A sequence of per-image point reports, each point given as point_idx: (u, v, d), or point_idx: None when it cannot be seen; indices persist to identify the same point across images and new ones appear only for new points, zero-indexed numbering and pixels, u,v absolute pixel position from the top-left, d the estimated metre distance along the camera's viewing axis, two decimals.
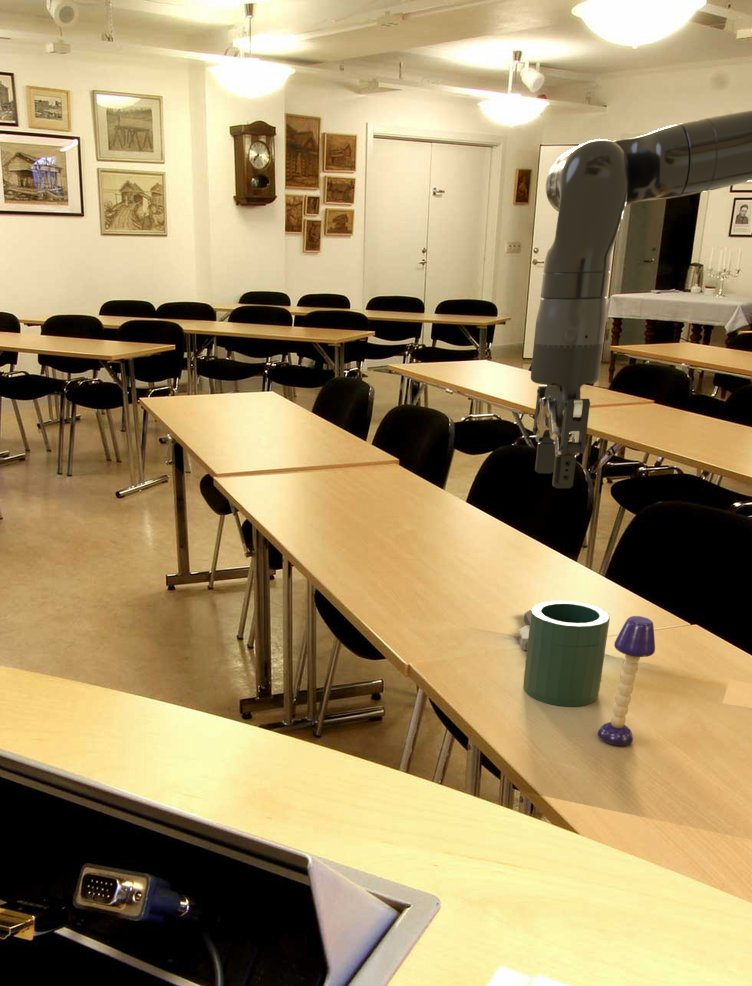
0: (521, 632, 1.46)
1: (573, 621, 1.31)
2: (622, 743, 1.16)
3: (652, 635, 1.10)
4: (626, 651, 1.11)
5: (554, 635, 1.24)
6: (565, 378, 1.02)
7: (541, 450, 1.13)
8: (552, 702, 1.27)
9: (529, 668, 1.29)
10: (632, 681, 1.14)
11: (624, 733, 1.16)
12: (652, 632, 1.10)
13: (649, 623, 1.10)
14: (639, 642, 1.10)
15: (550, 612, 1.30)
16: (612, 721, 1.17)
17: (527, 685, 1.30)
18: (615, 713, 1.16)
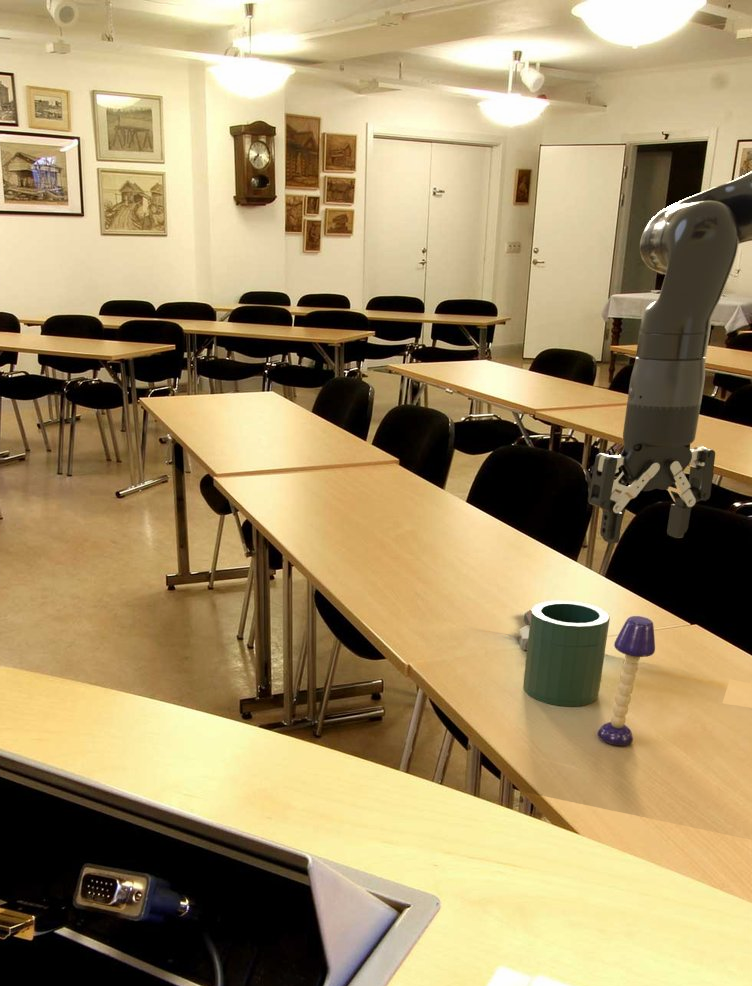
0: (521, 632, 1.46)
1: (573, 621, 1.31)
2: (622, 743, 1.16)
3: (652, 635, 1.10)
4: (626, 651, 1.11)
5: (554, 635, 1.24)
6: (625, 435, 1.03)
7: (672, 511, 1.08)
8: (552, 702, 1.27)
9: (529, 668, 1.29)
10: (632, 681, 1.14)
11: (624, 733, 1.16)
12: (652, 632, 1.10)
13: (649, 623, 1.10)
14: (639, 642, 1.10)
15: (550, 612, 1.30)
16: (612, 721, 1.17)
17: (527, 685, 1.30)
18: (615, 713, 1.16)
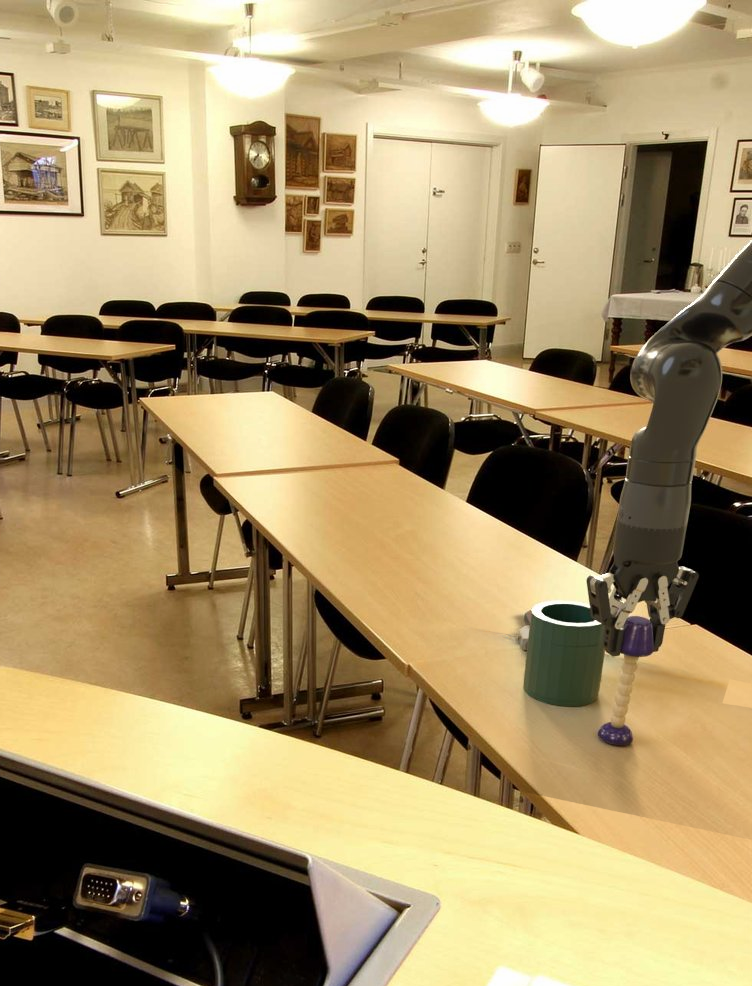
0: (521, 632, 1.46)
1: (573, 621, 1.31)
2: (622, 743, 1.16)
3: (651, 635, 1.10)
4: (625, 651, 1.11)
5: (554, 635, 1.24)
6: (615, 550, 1.08)
7: None
8: (552, 702, 1.27)
9: (529, 668, 1.29)
10: (631, 681, 1.14)
11: (624, 733, 1.16)
12: (651, 632, 1.10)
13: (647, 623, 1.10)
14: (638, 643, 1.10)
15: (550, 612, 1.30)
16: (612, 721, 1.17)
17: (527, 685, 1.30)
18: (615, 713, 1.16)
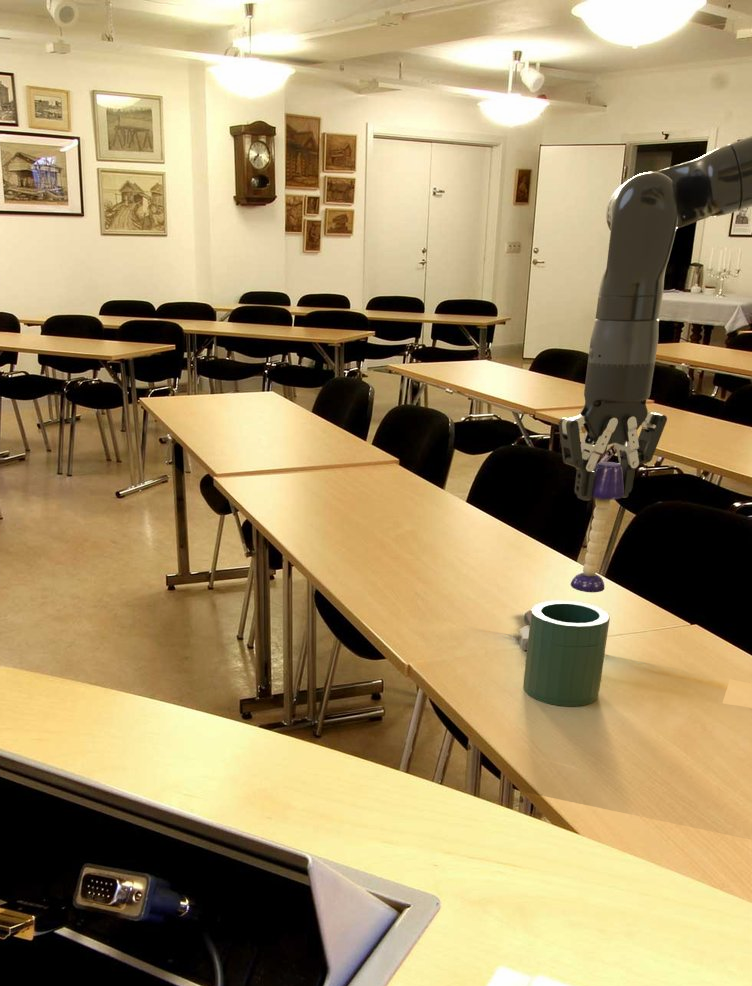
0: (521, 632, 1.46)
1: (573, 621, 1.31)
2: (594, 590, 1.19)
3: (621, 478, 1.14)
4: (596, 494, 1.14)
5: (554, 635, 1.24)
6: (586, 392, 1.11)
7: None
8: (552, 702, 1.27)
9: (529, 668, 1.29)
10: (602, 527, 1.17)
11: (595, 580, 1.19)
12: (621, 475, 1.13)
13: (618, 466, 1.13)
14: (608, 485, 1.13)
15: (550, 612, 1.30)
16: (584, 570, 1.20)
17: (527, 685, 1.30)
18: (587, 561, 1.19)
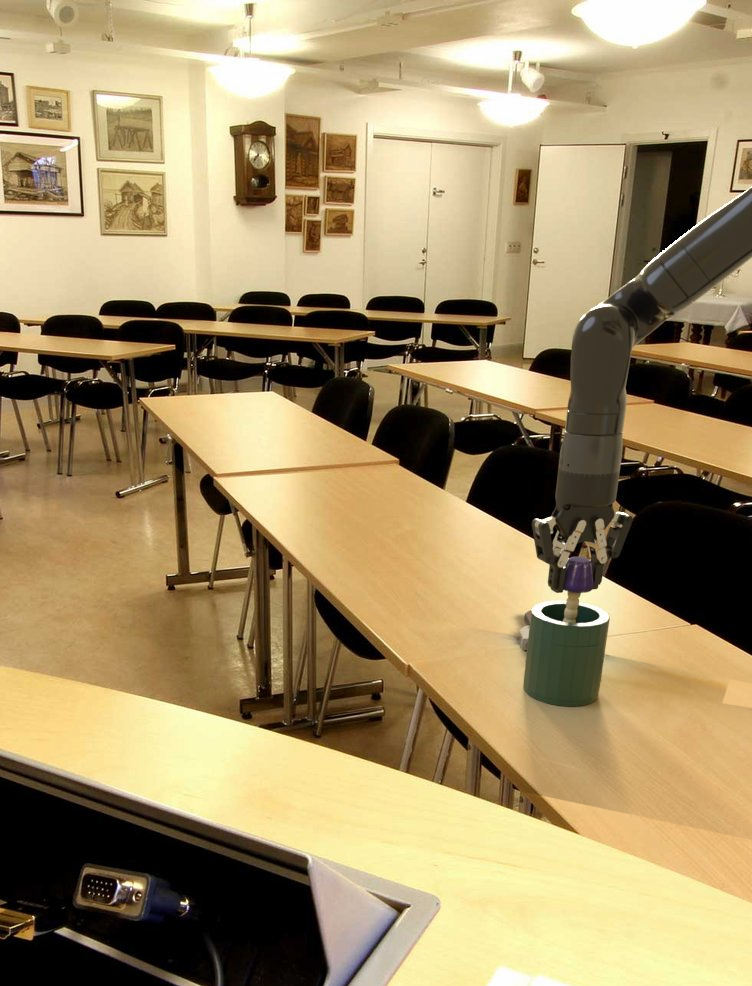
0: (521, 632, 1.46)
1: None
2: None
3: (590, 573, 1.23)
4: (567, 588, 1.23)
5: (554, 635, 1.24)
6: (557, 496, 1.20)
7: None
8: (552, 702, 1.27)
9: (529, 668, 1.29)
10: (574, 616, 1.26)
11: None
12: (590, 570, 1.23)
13: (587, 562, 1.22)
14: (578, 580, 1.22)
15: (550, 612, 1.30)
16: None
17: (527, 685, 1.30)
18: None
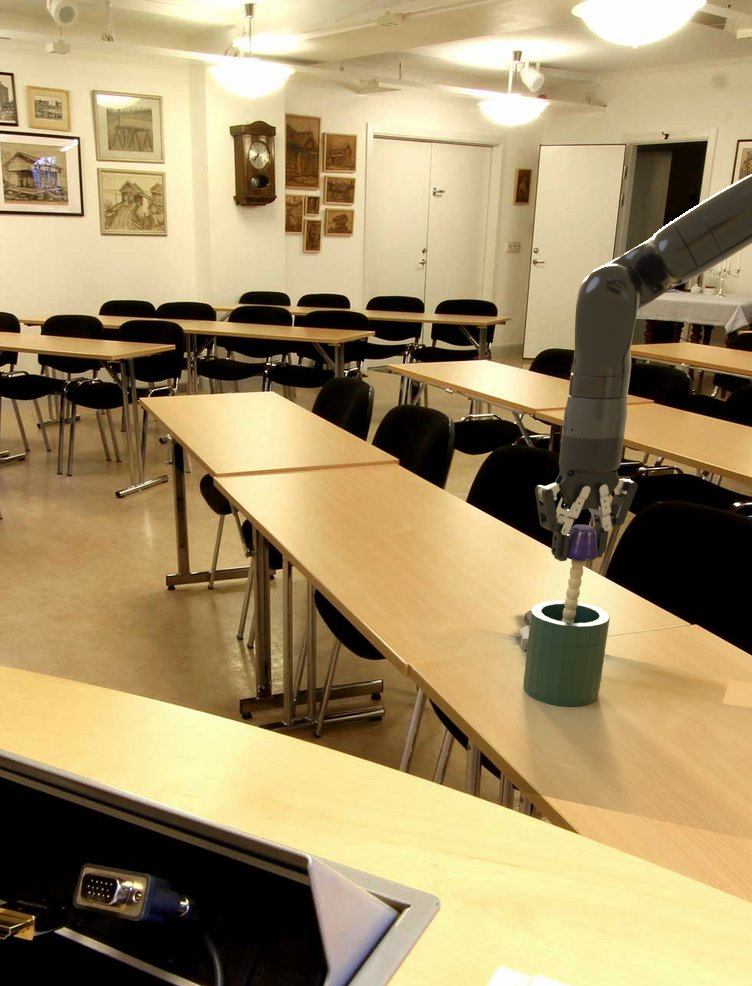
0: (522, 632, 1.46)
1: None
2: None
3: (594, 540, 1.21)
4: (571, 556, 1.22)
5: (554, 635, 1.24)
6: (560, 462, 1.19)
7: None
8: (552, 702, 1.27)
9: (529, 668, 1.29)
10: (578, 585, 1.24)
11: None
12: (594, 538, 1.21)
13: (591, 529, 1.21)
14: (582, 547, 1.21)
15: (550, 612, 1.30)
16: None
17: (527, 685, 1.30)
18: (564, 616, 1.27)
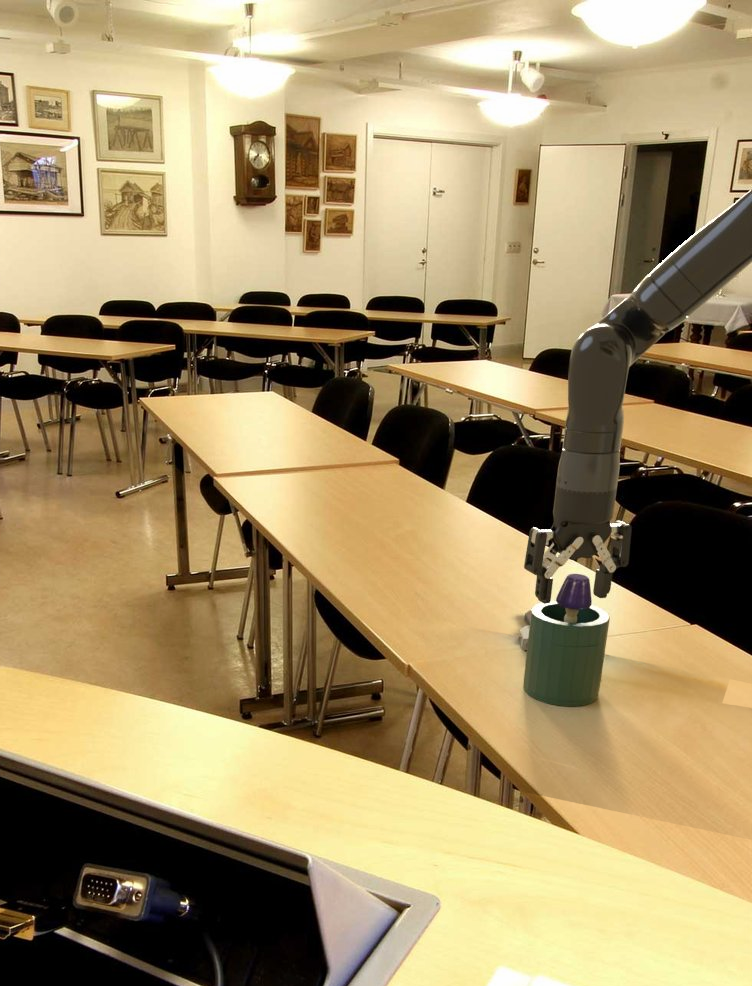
0: (522, 632, 1.46)
1: None
2: None
3: (588, 590, 1.24)
4: (565, 605, 1.24)
5: (554, 635, 1.24)
6: (554, 512, 1.21)
7: (597, 575, 1.26)
8: (552, 702, 1.27)
9: (529, 668, 1.29)
10: None
11: None
12: (588, 587, 1.23)
13: (585, 579, 1.23)
14: (576, 597, 1.23)
15: (550, 612, 1.30)
16: None
17: (527, 685, 1.30)
18: None
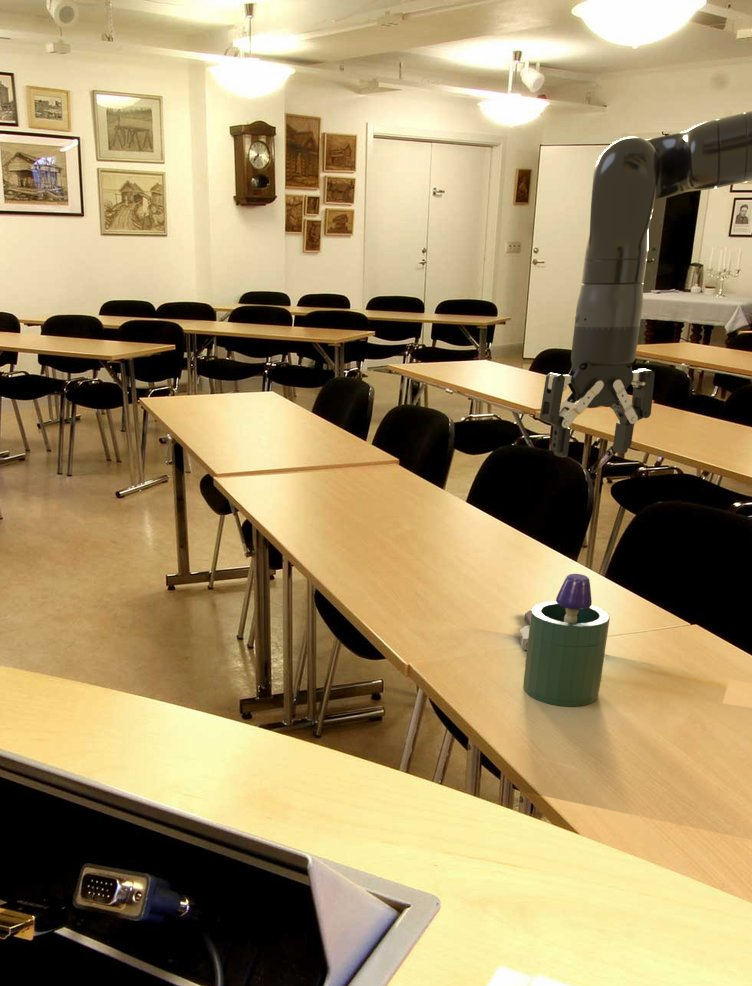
0: (522, 632, 1.46)
1: None
2: None
3: (588, 590, 1.24)
4: (565, 605, 1.24)
5: (554, 635, 1.24)
6: (572, 356, 1.14)
7: (617, 429, 1.19)
8: (552, 702, 1.27)
9: (529, 668, 1.29)
10: None
11: None
12: (588, 587, 1.23)
13: (585, 579, 1.23)
14: (576, 597, 1.23)
15: (550, 612, 1.30)
16: None
17: (527, 685, 1.30)
18: None
